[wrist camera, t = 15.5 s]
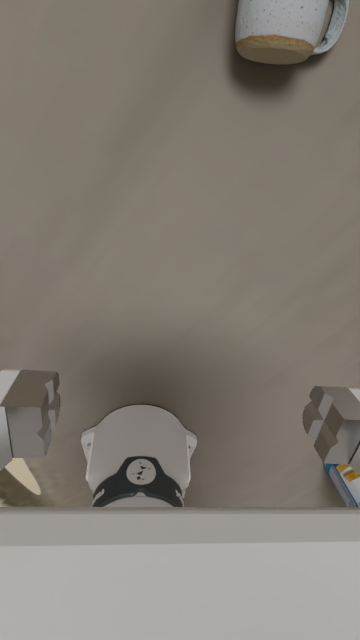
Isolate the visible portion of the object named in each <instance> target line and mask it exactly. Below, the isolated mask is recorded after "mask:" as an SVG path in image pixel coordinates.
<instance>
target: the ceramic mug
mask: <svg viewBox="0 0 360 640" xmlns="http://www.w3.org/2000/svg"><path fill="white" fill-rule="evenodd" d="M328 2H329V0H239V4H238V11H237V18H236V27H235V46H236V49H237V51H238V53H239V54H240V55H241V56H242V57H244V58H245V59H248V60H251V61H255V62H260V63H266V64H295V63H300V62H303V61H305V60H306V59H307V58H308V57H309V56H310V55H315V54H320V53H323V52H326V51H328V50H329V49H330V48H331V47H332V46H333V45H334V44H335V43H336V41H337V40H338V38H339V36H340V34H341V32H342V30H343V27H344V24H345V21H346V18H347V14H348V8H349V0H334V10H333V14H332V18H331V21H330V24H329V27H328V30H327V32H326V34H325V37H324V41H323V42H322V43H321V45H320V46H318V47H317V48H315V46H316V44H317V41H318V39H319V37H320V34H321V30H322V27H323V23H324V19H325V15H326V10H327V6H328Z"/></svg>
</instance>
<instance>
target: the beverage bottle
mask: <svg viewBox="0 0 360 640" xmlns="http://www.w3.org/2000/svg"><path fill="white" fill-rule="evenodd" d="M325 468H326V471H327V473H328V474H329V476H330V477H331V479H332V481H333V483H334V485H335V487H336V488H337V490H338V492H339V494H340V496H341V498H342V499H343V501H344V503H345V505H346V507H360V475H359V474H358V473H356V472H355V471H354V470H353V469H352V468H351V467H350V466H349V465H347V464H327V463H325Z"/></svg>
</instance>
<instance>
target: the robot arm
mask: <svg viewBox="0 0 360 640" xmlns="http://www.w3.org/2000/svg"><path fill="white" fill-rule="evenodd" d="M59 384H60V383H59V374H58V373H57V372H49V371H35V370H20V369H3V370H2V371H0V470H2V469H3V468H4V467H5V466H6V465H7V464H8V463H9V462H10V461H11V460H12V458H45V456H46V453H47V450H48V447H49V444H50V442H51V430H52V429H53V428H55V427H56V424H57V421H58V417H59V412H60V395H59V394H58V393H57V389H58V386H59ZM309 396H310V398H311V402H310V403H309V404H307V405H306V406H305V408H304V411H303V426H304V429H305V431H306V433H307V435H308V436H310V437H311V438H312V439H314V440H315V443H314V447H315V449H316V451H317V453H318V454H319V456H320V458H321V460H322V461H323V463H327V464H347V465H349V466H350V467H351V468H352V469H353V470H354V471H355V472H356V473H358V474H359V475H360V388H359V387H324V386H315V387H314V388H313V389H312V390H311V393H310V395H309ZM81 443H82V447H83V450H84V454H85V457H86V460H87V464H88V465H87V472H86V481H88V483H89V487H90V490H91V492H92V494H93V501H92V504H91V507H0V640H360V507H184V502H183V498H184V496H185V489H186V488H188V486H189V482H190V479H191V473H190V458H191V456H192V454H193V452H194V450H195V448H196V445H197V436H196V435H195V434H193V433H192V432H190V431H188V430H186V429H185V428H184V427H183V426H182V424H181V423H180V421H179V420H178V419H177V418H176V417H175V416H174V415H173V414H171V413H170V412H168V411H166V410H164V409H162V408H159V407H155V406H150V405H132V406H127V407H123V408H120V409H118V410H116V411H114V412H112V413H110V414H109V415H107V416H106V417H105V418H104V419H103V420H102V421H101V422H100V423H99V424H98V425H97V426H95V427H93V428H90V429H88V430H86V431H84V432H83V433H82V435H81Z"/></svg>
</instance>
